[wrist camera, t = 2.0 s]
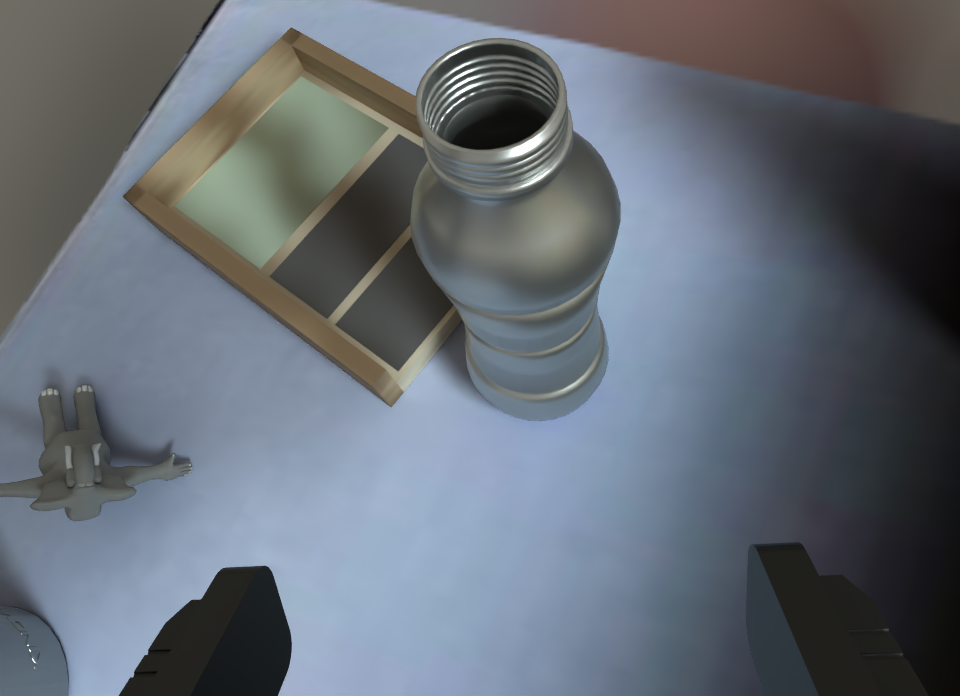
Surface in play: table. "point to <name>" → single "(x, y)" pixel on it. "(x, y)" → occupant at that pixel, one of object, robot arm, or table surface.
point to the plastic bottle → (515, 224)
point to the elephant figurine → (82, 463)
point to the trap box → (311, 209)
